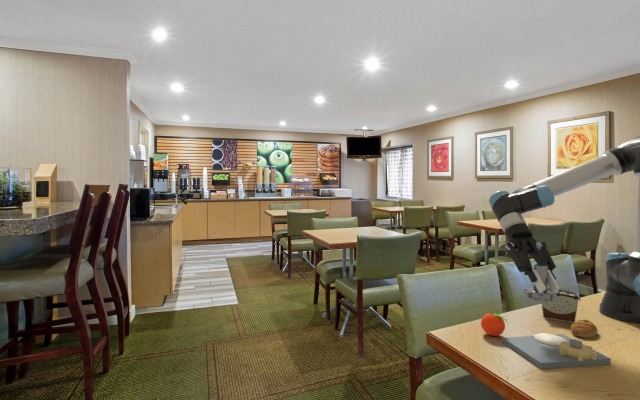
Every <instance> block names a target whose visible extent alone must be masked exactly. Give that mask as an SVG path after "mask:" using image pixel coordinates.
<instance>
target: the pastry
mask: <svg viewBox="0 0 640 400" xmlns="http://www.w3.org/2000/svg"><path fill="white" fill-rule="evenodd" d="M570 331H571V334H572V335H573V336H575V337H577V336H578V337H581V338H584V339H588V338H589V339H590V338H593V337H595V336H596V335H597V333H598V331H599V330H598V328H597V326H596V325H595V324H594V323H593V322H592V321H591V320H588V319H577V320H575V322H574V323H571V325H570Z"/></svg>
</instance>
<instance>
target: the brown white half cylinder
mask: <svg viewBox="0 0 640 400" xmlns="http://www.w3.org/2000/svg"><path fill="white" fill-rule="evenodd" d="M547 290H550V291H551V289H550V287H547ZM555 295H557V301H544V302H541V310H542V318H544V319H548V320H549V319H550V320H554V319H555V321H560V320H562V321H561V322H566V321H568V322H567V323H572V322H573V323H574V322H576V320H577V319H576V317H577V312H578V304H579V302H581V297H580V294H579V293H577V292H575V291H572V290H569V289H565V288H564V289H563V288H560V289H559V290H558V291H557V292H556V293H555ZM573 323H572V324H573Z"/></svg>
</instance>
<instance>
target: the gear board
mask: <svg viewBox="0 0 640 400" xmlns="http://www.w3.org/2000/svg"><path fill="white" fill-rule="evenodd" d="M502 343H503V345H506V346H507V347H509V348H510V349H512V350H513V351H515V352H516V353H518V354H519V355H520V356H522V357H524V359H526V360H527V361H529V362H530V363H532V364H534V365H535V366H536V367H538V368H540V370H542V369H555V368H556V369H557V368H559V369H560V368H570V367H571V368H574V367H575V368H576V367H587V366H602V365H603V366H604V365H605V366H606V365H611V364H612V363H611V360H612V359H611V357H608V356H607V355H604V354H603V353H601V352H599V351H597V350H595V349H593V346H592V345H589V344H587V345H586V344H584V343H583V341H581V340H579V339H573V338H571V337H570V336H567V335H565V334H561V333H560V334H552V333H544V332H543V333H535V334H534V335H526V336H524V335H523V336H509V337H508V336H506V337H502Z"/></svg>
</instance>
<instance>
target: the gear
mask: <svg viewBox="0 0 640 400" xmlns="http://www.w3.org/2000/svg"><path fill="white" fill-rule="evenodd" d="M533 270H536V271H537V272H538V274H539V276H540V278H541V280H542V282H543V283H544V285H545V287H546V290H545V291H544V292H543V293H539V292H538V290H537V288H536V286H535V284H534V283H533V287H530V288H528V287H525V288H523V295H524V297H525V299H531V300H533V301H534V300H535V301H538V302H541V303H542V302H544V301H557V295H555V293H552V291H550V290H547V288H548V283H547V278H548V266H546V265H541V264H537V263H535V264H533Z"/></svg>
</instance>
